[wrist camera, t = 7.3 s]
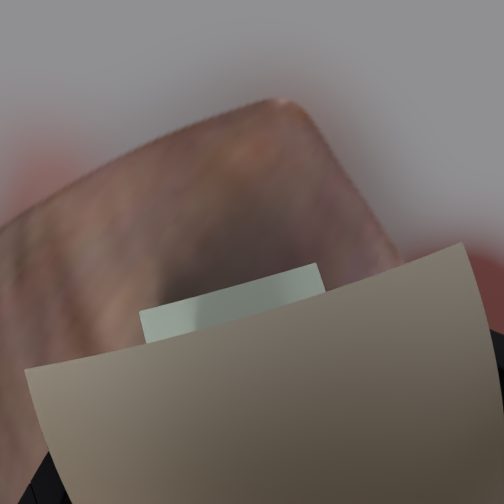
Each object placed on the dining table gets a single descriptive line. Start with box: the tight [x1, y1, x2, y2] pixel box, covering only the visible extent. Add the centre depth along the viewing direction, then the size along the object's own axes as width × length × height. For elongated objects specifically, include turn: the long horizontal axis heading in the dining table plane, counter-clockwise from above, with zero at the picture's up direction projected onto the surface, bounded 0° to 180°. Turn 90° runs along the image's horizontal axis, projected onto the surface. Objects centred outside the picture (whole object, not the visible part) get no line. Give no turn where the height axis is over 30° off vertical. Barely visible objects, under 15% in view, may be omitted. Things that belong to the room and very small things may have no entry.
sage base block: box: [139, 263, 326, 343], centre depth 18 cm, size 10×10×4 cm
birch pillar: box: [24, 242, 504, 504], centre depth 9 cm, size 5×5×14 cm
